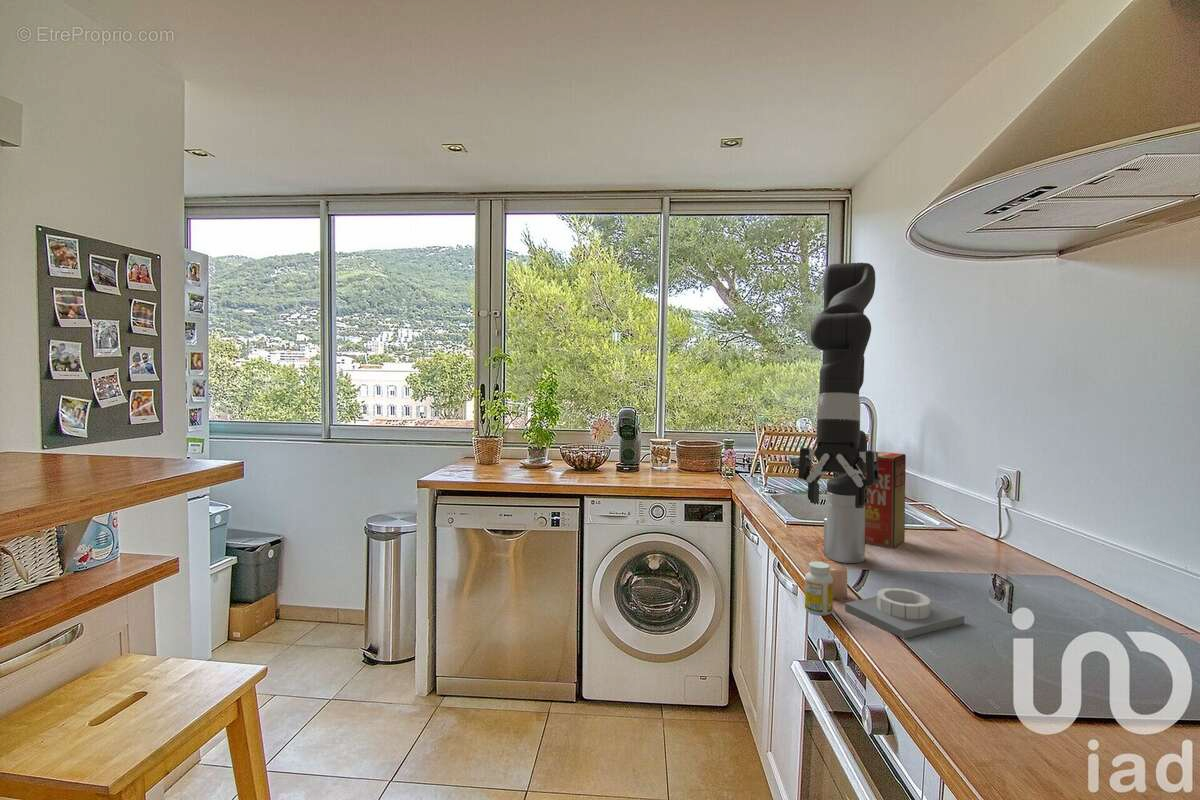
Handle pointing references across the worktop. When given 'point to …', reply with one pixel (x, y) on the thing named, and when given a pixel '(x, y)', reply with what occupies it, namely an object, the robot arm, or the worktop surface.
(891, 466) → the food packaging
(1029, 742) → the worktop surface
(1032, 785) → the worktop surface
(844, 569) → the peach pill-shaped knob
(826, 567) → the supplement bottle
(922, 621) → the collar board
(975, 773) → the worktop surface
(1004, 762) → the worktop surface
